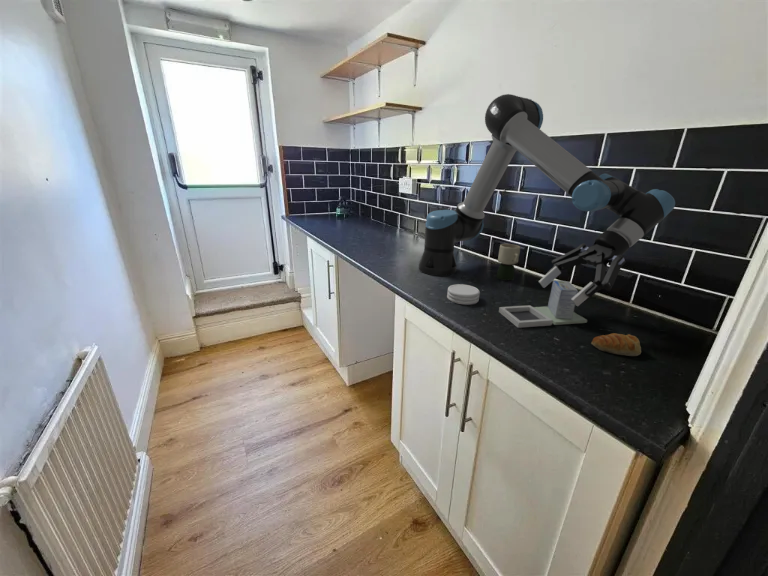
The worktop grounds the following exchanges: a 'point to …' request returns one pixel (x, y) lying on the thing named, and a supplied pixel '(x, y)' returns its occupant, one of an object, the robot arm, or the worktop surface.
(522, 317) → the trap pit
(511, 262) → the character mug
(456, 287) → the coaster
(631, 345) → the pastry
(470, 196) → the robot arm
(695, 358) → the worktop surface
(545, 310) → the pad
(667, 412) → the worktop surface
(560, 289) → the medicine box
